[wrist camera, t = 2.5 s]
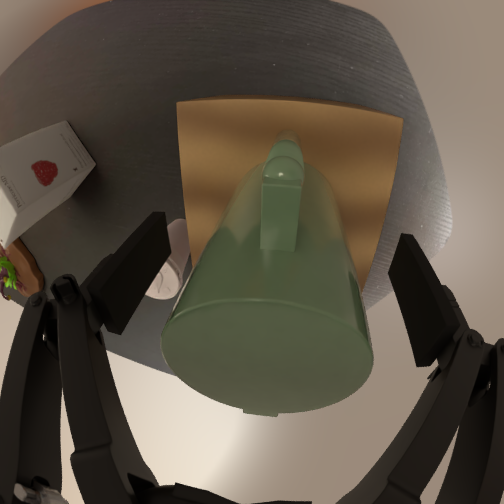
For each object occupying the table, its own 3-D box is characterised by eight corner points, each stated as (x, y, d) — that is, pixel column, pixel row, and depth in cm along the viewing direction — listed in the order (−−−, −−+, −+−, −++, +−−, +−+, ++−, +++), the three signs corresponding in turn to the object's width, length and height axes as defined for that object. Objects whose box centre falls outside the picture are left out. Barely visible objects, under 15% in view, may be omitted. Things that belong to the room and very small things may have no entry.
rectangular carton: (98, 164, 31) (17, 217, 18) (71, 197, 34) (4, 252, 22) (66, 117, 27) (-19, 154, 15) (42, 156, 30) (-28, 198, 18)
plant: (9, 213, 39) (-26, 242, 30) (53, 285, 48) (26, 318, 39) (-10, 237, 45) (-36, 261, 36) (25, 293, 55) (4, 320, 45)
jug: (232, 117, 15) (109, 192, 5) (347, 126, 14) (449, 221, 4) (235, 259, 21) (187, 408, 11) (325, 268, 20) (332, 425, 10)
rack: (223, 94, 24) (176, 102, 14) (360, 104, 23) (404, 118, 13) (226, 213, 32) (194, 278, 22) (343, 223, 31) (361, 294, 21)
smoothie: (203, 209, 32) (153, 284, 21) (208, 252, 36) (171, 334, 25) (156, 209, 33) (96, 277, 22) (166, 250, 37) (119, 323, 26)
